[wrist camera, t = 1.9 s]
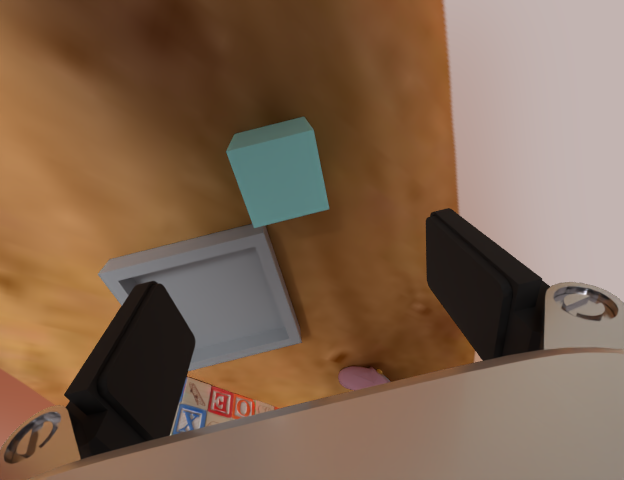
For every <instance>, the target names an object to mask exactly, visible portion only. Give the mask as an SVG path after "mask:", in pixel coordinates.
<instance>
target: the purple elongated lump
mask: <svg viewBox="0 0 624 480" xmlns="http://www.w3.org/2000/svg"><path fill="white" fill-rule="evenodd" d="M382 373H383V372H382V371H381V370H380V369H377V370H375V369H374V368H373V367H370V368H369V369H368V368H364V367H355V366H351V367H346V368H344V369H343V370H341V371H340V373H339V376H338V379H339V382H340V384H341V385H342V386H344V387H345V388H347V389H351V390H354V391H355V390H359V389H363V388H367V387H372V386H376V385H380V384H384V383H389V382H391V381H390V380H389V379H388V378H386V377H385V376H384V375H383V374H382Z"/></svg>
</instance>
